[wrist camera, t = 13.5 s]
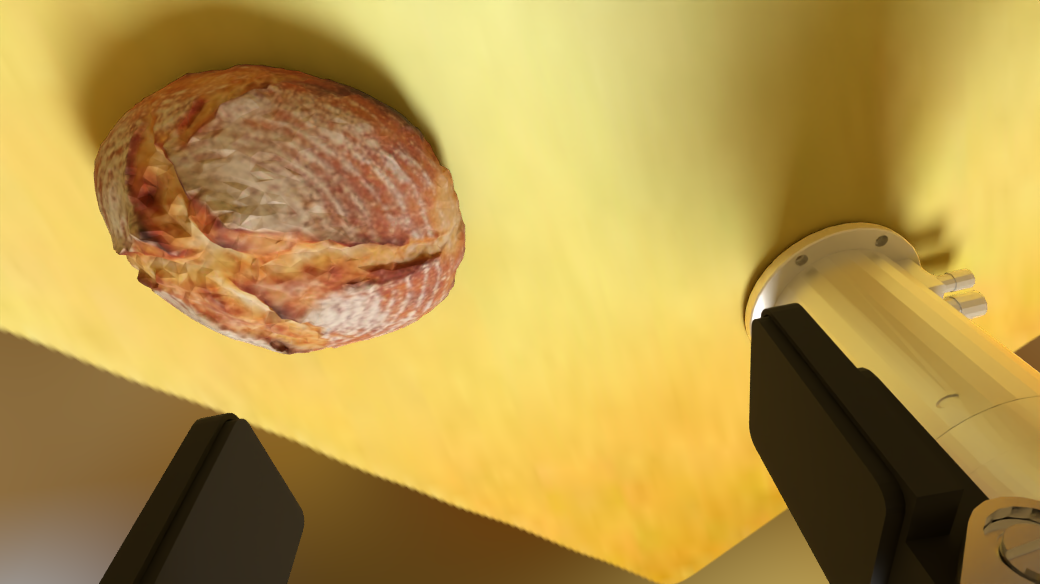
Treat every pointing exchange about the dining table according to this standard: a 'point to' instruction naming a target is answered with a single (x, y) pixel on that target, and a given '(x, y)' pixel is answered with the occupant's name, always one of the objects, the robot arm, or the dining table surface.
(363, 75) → the dining table surface
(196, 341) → the dining table surface
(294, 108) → the bread
